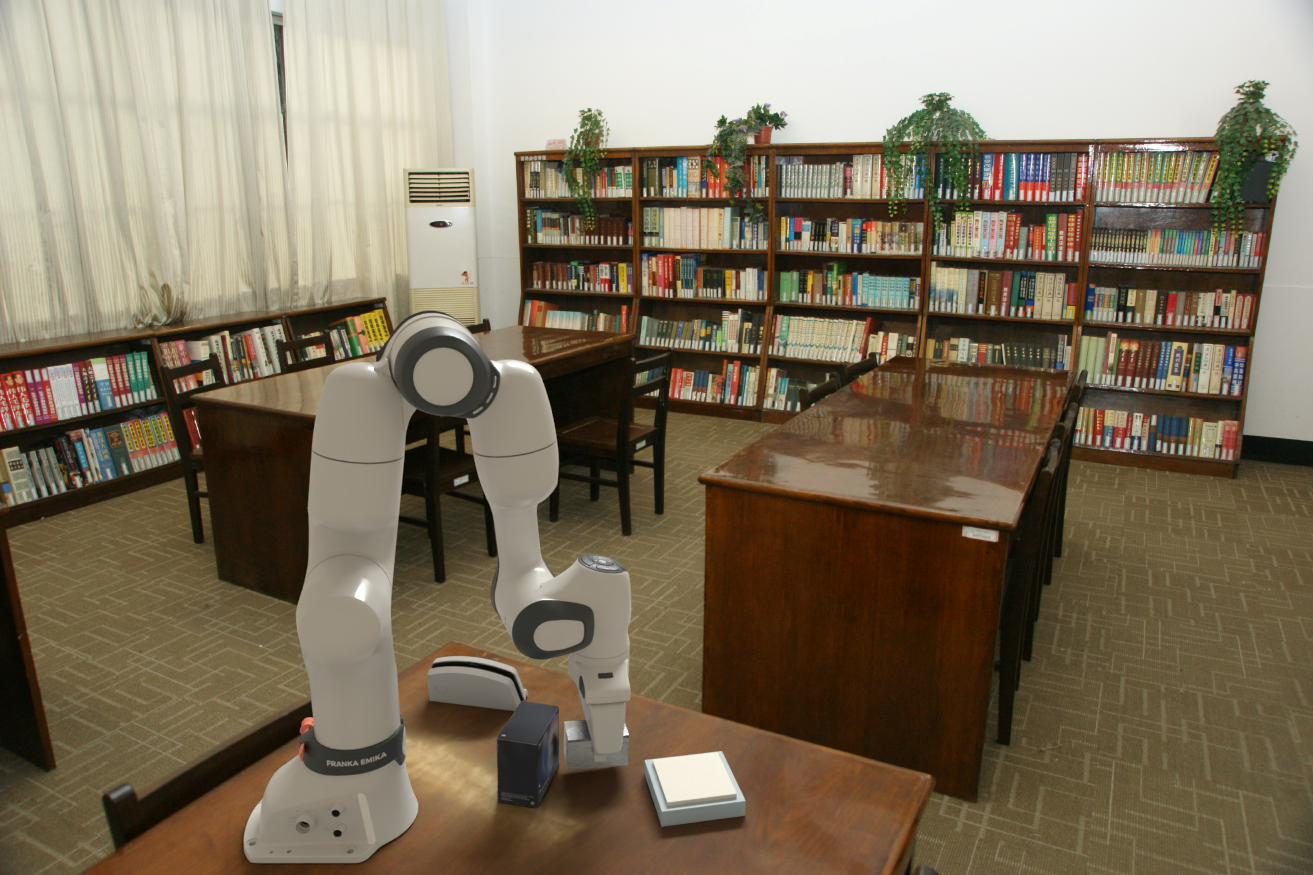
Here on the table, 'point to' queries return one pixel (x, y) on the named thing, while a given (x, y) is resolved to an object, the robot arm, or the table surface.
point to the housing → (588, 748)
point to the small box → (527, 754)
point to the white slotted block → (475, 683)
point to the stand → (693, 788)
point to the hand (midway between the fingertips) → (595, 746)
